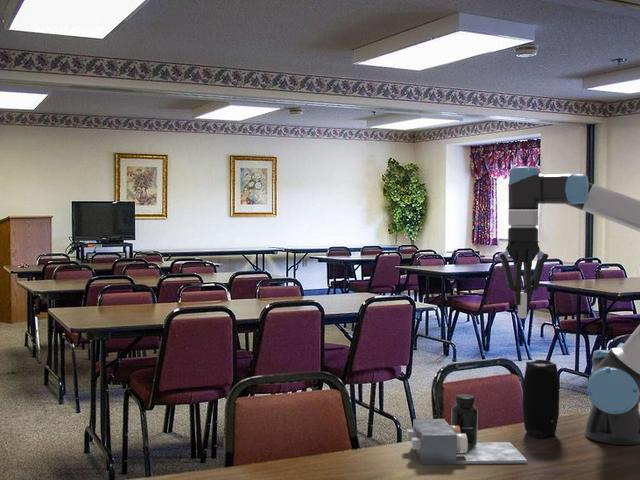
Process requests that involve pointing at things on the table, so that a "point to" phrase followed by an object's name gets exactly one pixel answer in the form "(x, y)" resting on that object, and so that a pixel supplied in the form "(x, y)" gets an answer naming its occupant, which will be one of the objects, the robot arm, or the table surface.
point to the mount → (443, 447)
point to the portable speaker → (541, 398)
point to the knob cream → (461, 443)
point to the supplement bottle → (465, 416)
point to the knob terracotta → (413, 432)
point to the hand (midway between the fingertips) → (522, 317)
